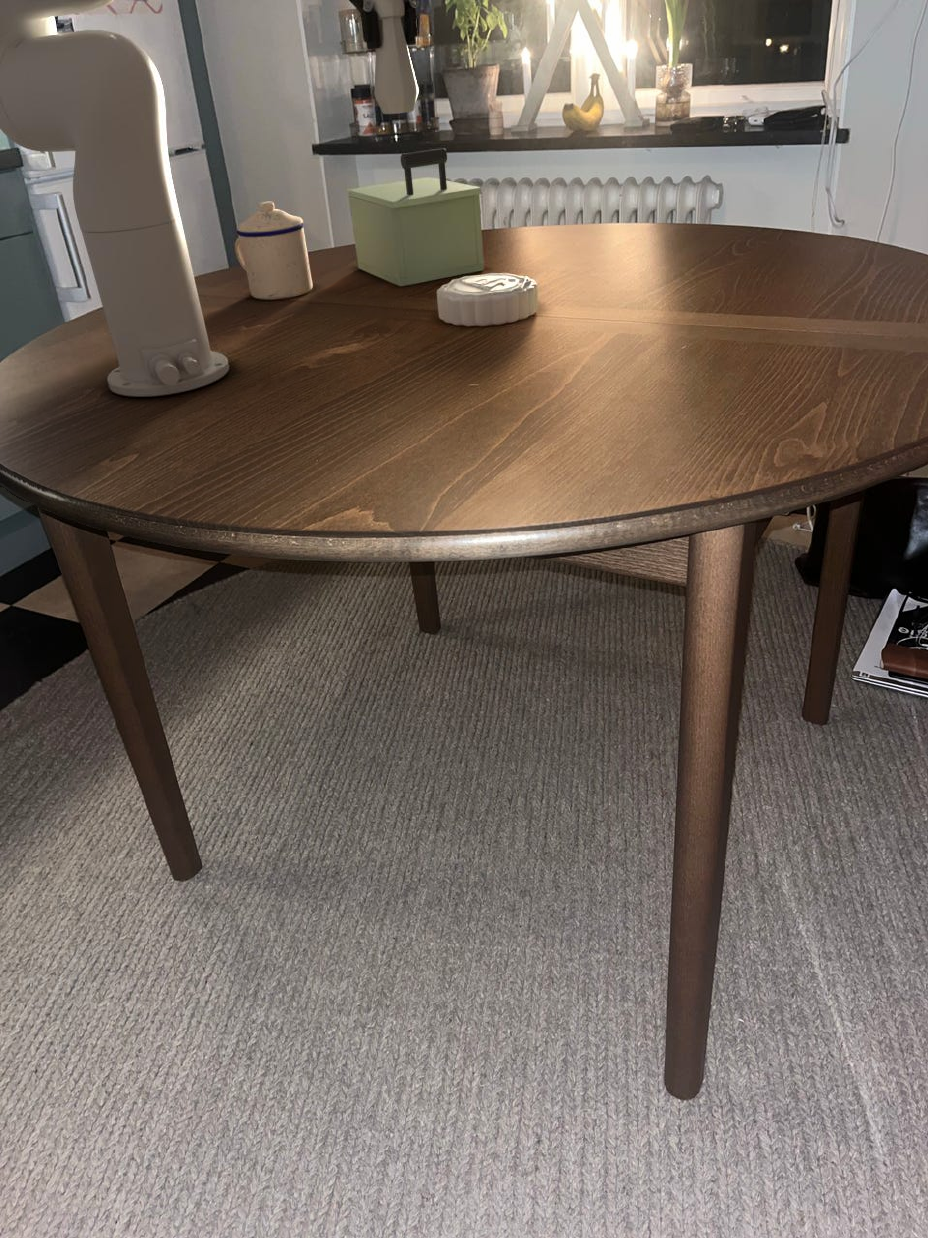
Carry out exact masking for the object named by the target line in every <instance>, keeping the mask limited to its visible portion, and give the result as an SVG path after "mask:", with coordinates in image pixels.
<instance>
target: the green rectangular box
mask: <svg viewBox="0 0 928 1238" xmlns="http://www.w3.org/2000/svg"><path fill="white" fill-rule="evenodd" d="M480 199H481V198H480V194H479V195H473V196H467V197H461V198H454V199H448V200H442V201H436V202H430V203H424V204H418V205H412V206H406V207H400V208H390V207H387V206H383V205H380V204H376V203H373V202H369V201H366V200H362V199H359V198H355V197H352V196H349V195H348V201H349V203H348V204H349V210H350V216H351V224H352V232H353V238H354V239H353V240H354V247H355V253H356V261H357V267H358V269H359V270H362V271H364V272H366V273H368V274H371V275H372V276H375V277H378V278H380V279H382V280H384V281H387V282H389V283H391V284H393V285H396V286H398V287H406V286H410V285H417V284H420V283H426V282H430V281H435V280H436V281H437V280H442V279H446V278H451V277H452V278H453V277H456V276H461V275H466V274H472V273H475V272H476V273H477V272H481V271H485V259H484V247H483V231H482V230H483V229H482V215H481V200H480Z"/></svg>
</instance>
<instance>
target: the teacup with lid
mask: <svg viewBox="0 0 928 1238" xmlns="http://www.w3.org/2000/svg"><path fill="white" fill-rule="evenodd" d="M275 207H276V206H275V203H274V202H273V201H271V200H269V201H268V200H267V201H262V202H259V204H258V208H259V210H258V211H256V212H254V213H253V214H252V215H251V216H250V217H249V218H248V219H247V220H245V221H243V222H240V223H239V224H238V225H237V227H236V234H237V236H238V237H237V238H236V240H235V242H234V251H235V255H236V258H237V260H238V263H239V264H240V266H241V267H242V268H243V270H244V271H246V277H247V281H248V282H247V283H248V287H249V292H250V295H251V296H252V298H254V299H257V300H264V301H265V300H266V301H269V300H271V301H273V300H274V301H275V300H284V299H290V298H291V299H292V298H295V297H298V296H302V295H305V294H307V293H309V292H310V291H311V290H312V289H313V287H314V285H313V280H312V272H311V267H310V261H309V253H308V249H307V241H306V236H305V230H304V227H305V225H306V224H305V222H304V220H303V219H302V217H300V216H298V215H291V214H289V213H288V212H286V211H284V210H282V209H278V208H275Z"/></svg>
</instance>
